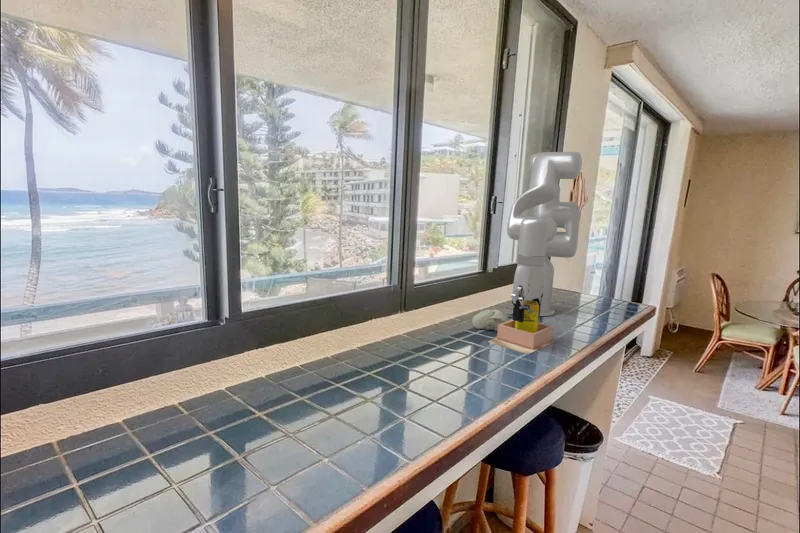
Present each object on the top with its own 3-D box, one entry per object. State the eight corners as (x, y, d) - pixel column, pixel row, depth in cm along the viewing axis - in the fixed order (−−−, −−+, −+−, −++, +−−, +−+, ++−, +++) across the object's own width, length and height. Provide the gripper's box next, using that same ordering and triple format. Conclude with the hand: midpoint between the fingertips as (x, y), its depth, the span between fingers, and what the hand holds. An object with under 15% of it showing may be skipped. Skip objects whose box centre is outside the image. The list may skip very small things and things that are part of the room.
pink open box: (517, 331, 130) (518, 317, 129) (551, 341, 121) (553, 326, 121) (497, 339, 122) (498, 324, 121) (532, 350, 113) (534, 334, 113)
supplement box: (536, 342, 118) (539, 305, 116) (515, 340, 119) (518, 304, 118) (534, 335, 124) (537, 300, 122) (514, 333, 125) (516, 299, 123)
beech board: (515, 334, 130) (515, 330, 130) (554, 345, 121) (554, 341, 121) (486, 345, 119) (487, 341, 119) (527, 358, 110) (527, 354, 110)
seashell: (468, 309, 131) (482, 300, 138) (466, 331, 133) (480, 321, 141) (506, 321, 123) (518, 310, 131) (503, 344, 126) (516, 332, 133)
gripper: (533, 256, 126) (529, 310, 129) (503, 262, 114) (499, 320, 117) (557, 260, 121) (551, 315, 124) (528, 265, 109) (523, 326, 112)
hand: (526, 317), depth 121 cm, fingers open, 9 cm apart
